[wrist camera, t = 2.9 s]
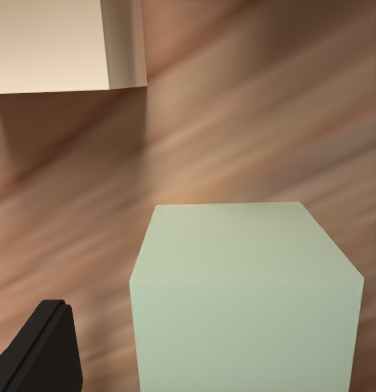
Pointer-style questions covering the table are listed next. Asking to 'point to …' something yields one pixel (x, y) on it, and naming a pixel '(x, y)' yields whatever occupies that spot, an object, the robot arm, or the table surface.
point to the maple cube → (71, 45)
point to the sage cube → (243, 301)
